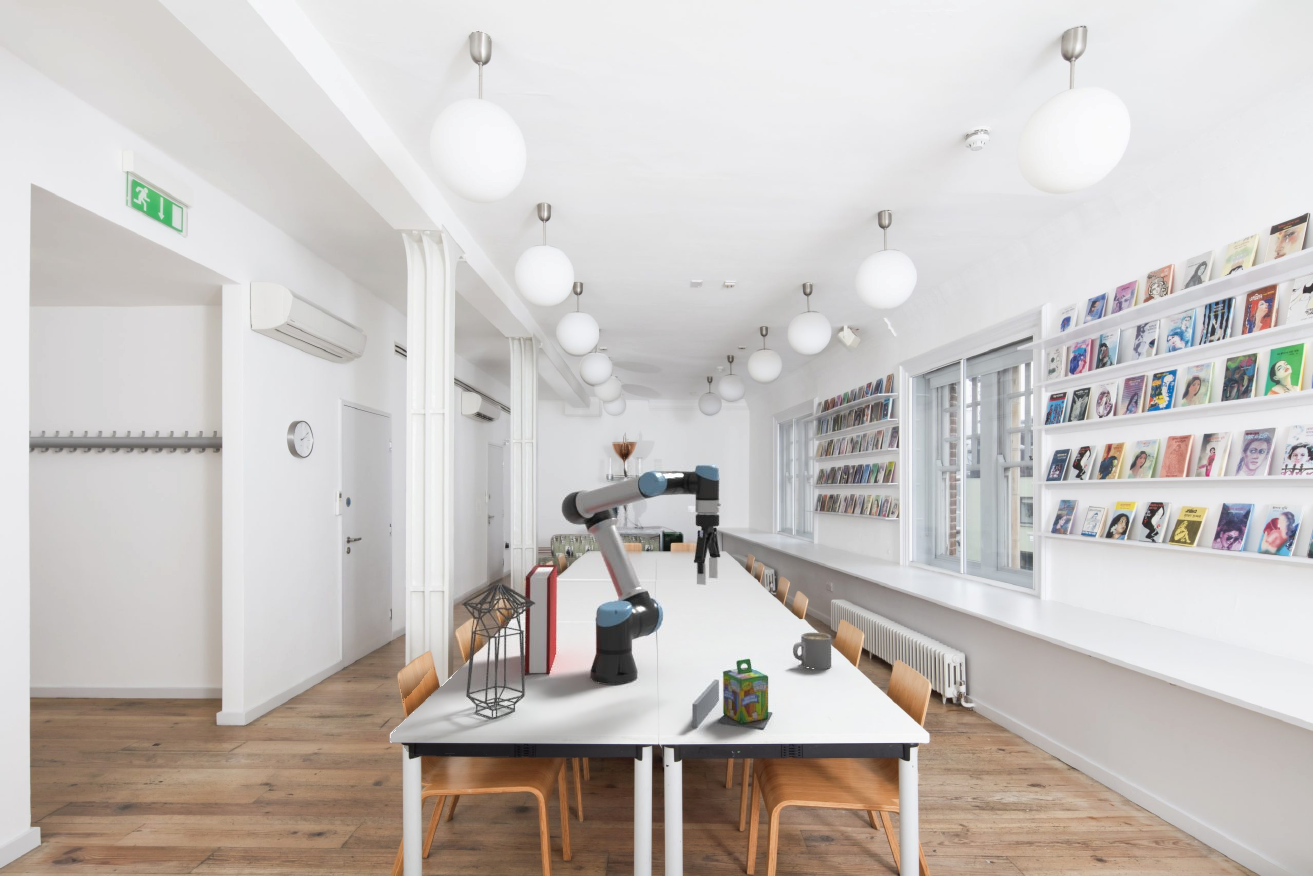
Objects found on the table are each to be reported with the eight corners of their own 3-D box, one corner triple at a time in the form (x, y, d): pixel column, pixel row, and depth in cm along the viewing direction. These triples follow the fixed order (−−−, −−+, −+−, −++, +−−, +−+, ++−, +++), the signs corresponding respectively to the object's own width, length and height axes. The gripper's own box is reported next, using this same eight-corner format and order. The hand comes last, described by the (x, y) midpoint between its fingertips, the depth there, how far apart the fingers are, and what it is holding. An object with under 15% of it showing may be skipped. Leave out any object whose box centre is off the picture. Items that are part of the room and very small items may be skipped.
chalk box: (741, 725, 175) (740, 667, 176) (721, 714, 183) (721, 658, 184) (769, 719, 180) (769, 662, 180) (749, 708, 188) (749, 654, 188)
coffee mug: (826, 661, 236) (825, 632, 237) (835, 669, 226) (834, 639, 227) (788, 661, 236) (788, 632, 236) (796, 670, 226) (795, 639, 226)
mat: (718, 723, 177) (718, 721, 178) (729, 708, 189) (729, 707, 189) (763, 729, 173) (763, 727, 173) (772, 713, 185) (772, 712, 185)
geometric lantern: (455, 713, 185) (458, 584, 188) (502, 699, 197) (504, 578, 200) (489, 726, 175) (493, 589, 178) (537, 711, 187) (539, 583, 190)
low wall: (692, 727, 175) (692, 703, 175) (714, 700, 195) (714, 679, 196) (696, 728, 174) (696, 704, 175) (718, 701, 195) (718, 680, 195)
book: (549, 675, 220) (550, 576, 222) (524, 675, 219) (525, 576, 221) (556, 652, 247) (557, 564, 249) (534, 653, 247) (535, 565, 248)
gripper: (707, 516, 201) (708, 588, 200) (728, 511, 225) (728, 576, 224) (684, 515, 204) (684, 586, 203) (706, 511, 227) (707, 574, 226)
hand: (707, 581), depth 213 cm, fingers open, 13 cm apart
